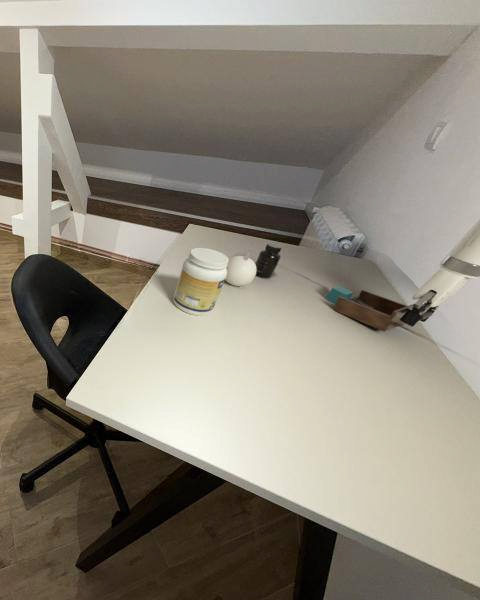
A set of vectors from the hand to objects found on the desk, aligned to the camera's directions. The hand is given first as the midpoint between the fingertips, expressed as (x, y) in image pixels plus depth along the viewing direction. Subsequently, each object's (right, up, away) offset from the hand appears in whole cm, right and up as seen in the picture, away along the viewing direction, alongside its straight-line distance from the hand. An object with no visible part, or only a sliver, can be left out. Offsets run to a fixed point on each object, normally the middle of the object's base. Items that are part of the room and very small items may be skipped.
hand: (412, 320), depth 89 cm
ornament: (-41, +12, +21) cm, 48 cm away
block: (-7, +6, +14) cm, 17 cm away
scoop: (-3, 0, +7) cm, 8 cm away
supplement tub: (-61, +4, +7) cm, 62 cm away
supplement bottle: (-27, +15, +29) cm, 42 cm away
